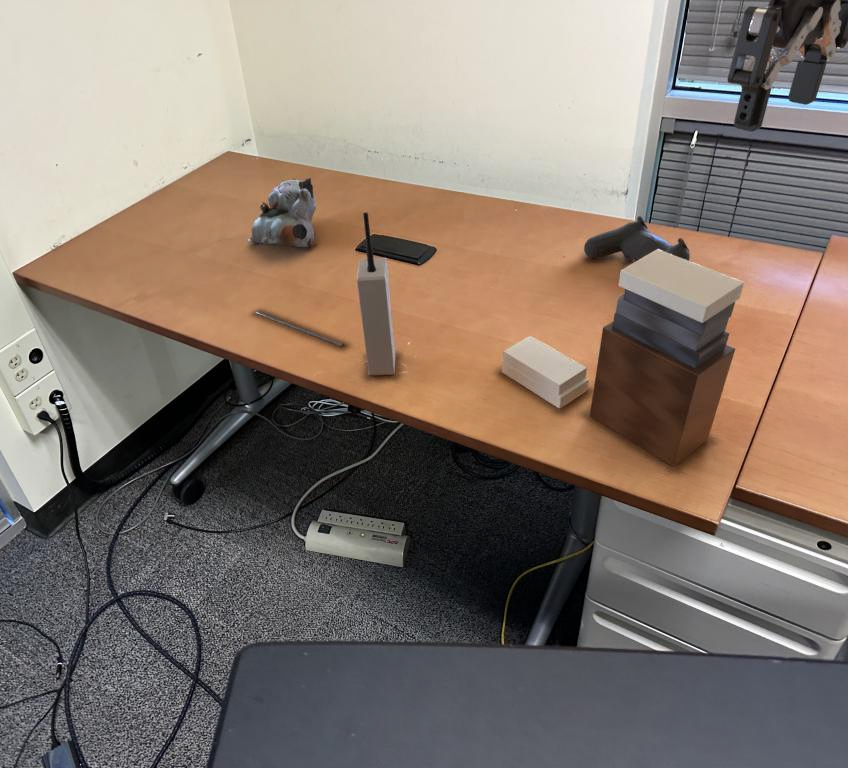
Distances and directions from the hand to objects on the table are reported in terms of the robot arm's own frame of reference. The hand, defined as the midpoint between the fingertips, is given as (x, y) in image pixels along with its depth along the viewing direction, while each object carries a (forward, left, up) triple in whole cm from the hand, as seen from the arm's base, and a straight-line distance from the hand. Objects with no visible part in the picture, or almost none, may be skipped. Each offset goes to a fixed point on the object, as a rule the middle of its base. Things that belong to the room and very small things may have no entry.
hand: (774, 115), depth 64 cm
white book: (+6, +5, -17) cm, 18 cm away
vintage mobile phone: (+42, -2, -37) cm, 56 cm away
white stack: (+19, -2, -37) cm, 41 cm away
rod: (+58, -9, -37) cm, 69 cm away
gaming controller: (+7, -33, -37) cm, 49 cm away
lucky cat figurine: (+71, -37, -37) cm, 88 cm away
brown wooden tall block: (+6, +5, -37) cm, 37 cm away
